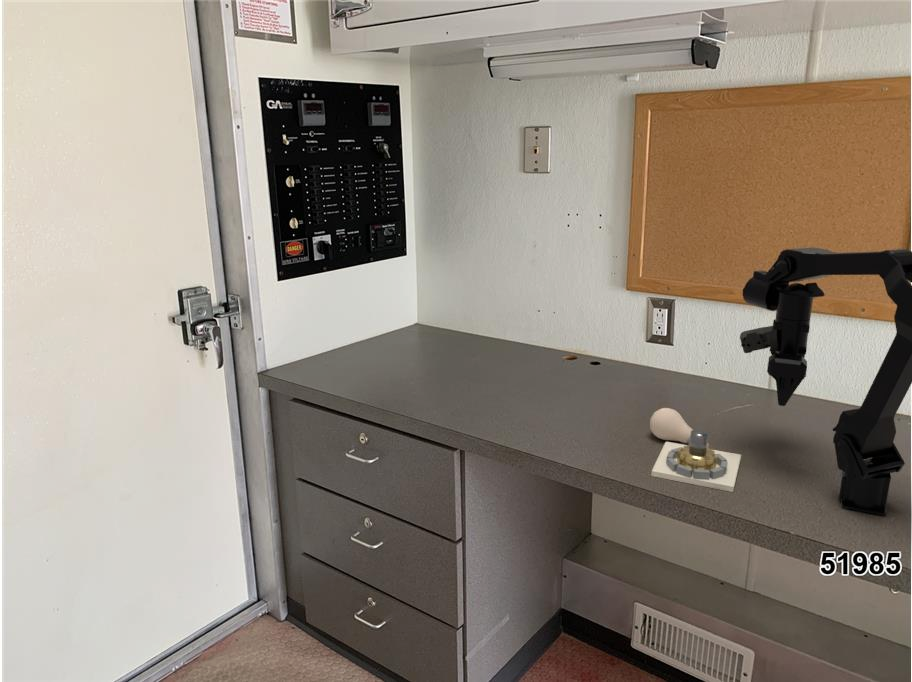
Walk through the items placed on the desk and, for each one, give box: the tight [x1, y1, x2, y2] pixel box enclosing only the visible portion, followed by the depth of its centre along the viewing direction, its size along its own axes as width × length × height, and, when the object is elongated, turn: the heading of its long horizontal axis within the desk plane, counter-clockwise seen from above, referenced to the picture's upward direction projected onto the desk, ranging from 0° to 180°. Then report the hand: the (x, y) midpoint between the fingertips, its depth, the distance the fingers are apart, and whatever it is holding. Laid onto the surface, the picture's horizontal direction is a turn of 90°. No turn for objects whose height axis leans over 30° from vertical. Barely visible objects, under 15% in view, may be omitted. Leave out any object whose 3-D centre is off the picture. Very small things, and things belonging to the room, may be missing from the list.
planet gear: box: [677, 429, 717, 471], centre depth 130 cm, size 7×7×7 cm
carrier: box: [650, 441, 742, 493], centre depth 132 cm, size 14×14×4 cm
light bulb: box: [649, 407, 694, 446], centre depth 143 cm, size 7×7×11 cm
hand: (782, 397), depth 134 cm, fingers open, 9 cm apart
